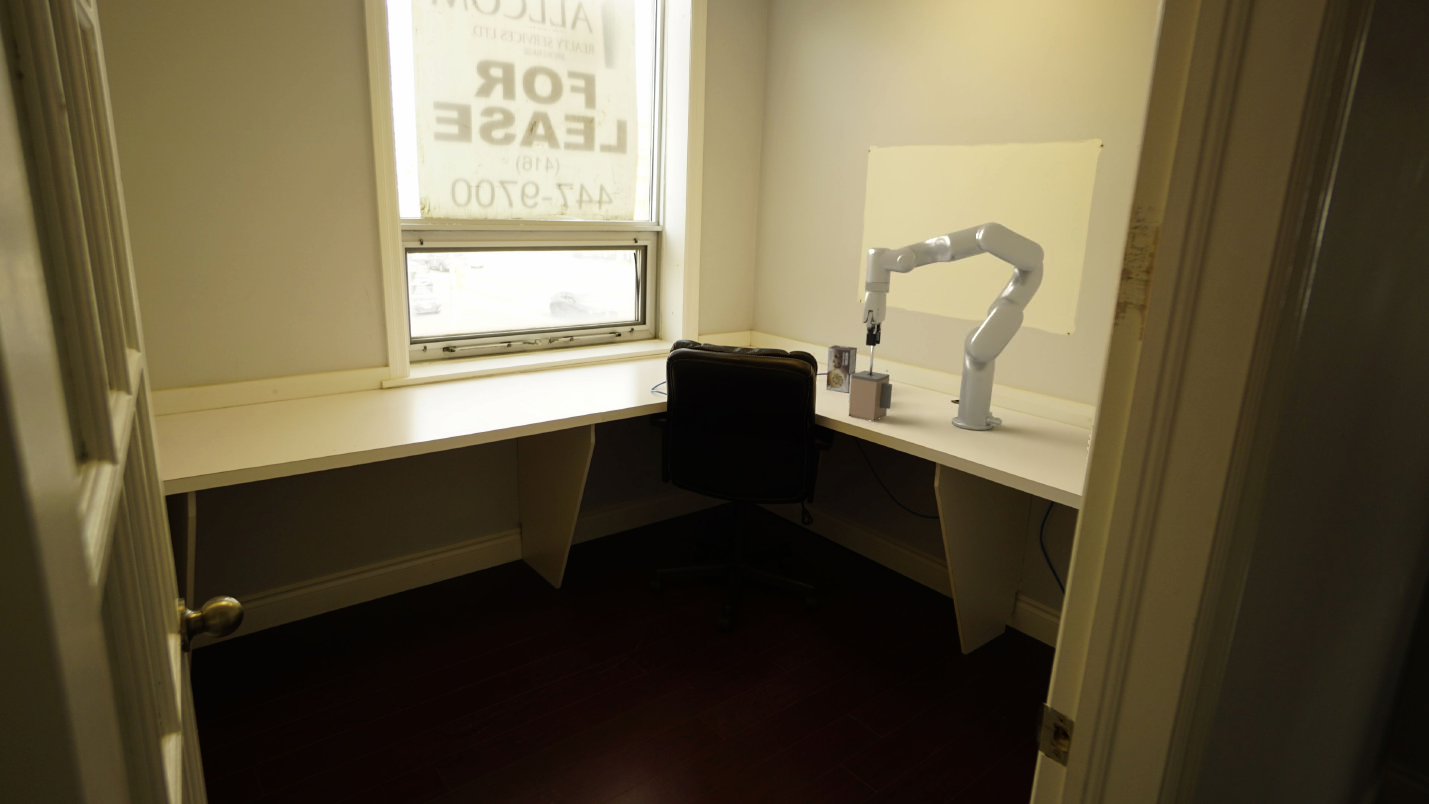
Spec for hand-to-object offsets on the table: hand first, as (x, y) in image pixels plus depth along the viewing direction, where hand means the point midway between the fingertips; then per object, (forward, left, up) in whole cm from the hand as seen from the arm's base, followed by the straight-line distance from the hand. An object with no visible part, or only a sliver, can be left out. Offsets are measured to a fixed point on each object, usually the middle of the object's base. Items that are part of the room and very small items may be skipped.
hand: (872, 344), depth 249 cm
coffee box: (+25, -26, -24) cm, 44 cm away
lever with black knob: (0, 0, -13) cm, 13 cm away
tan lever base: (-2, 0, -24) cm, 24 cm away
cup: (+10, -14, -24) cm, 30 cm away
